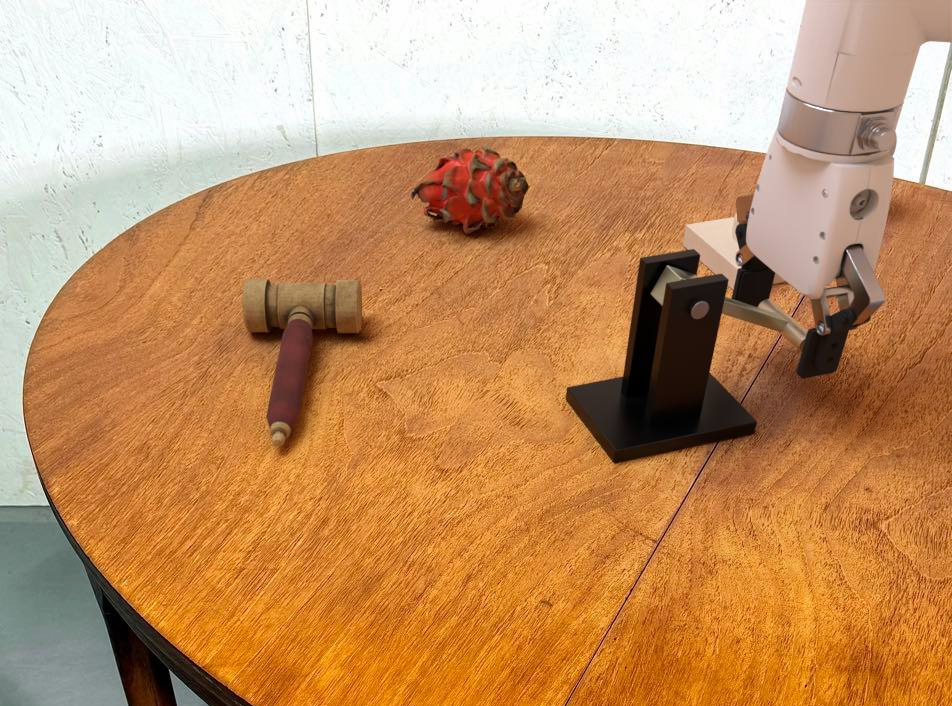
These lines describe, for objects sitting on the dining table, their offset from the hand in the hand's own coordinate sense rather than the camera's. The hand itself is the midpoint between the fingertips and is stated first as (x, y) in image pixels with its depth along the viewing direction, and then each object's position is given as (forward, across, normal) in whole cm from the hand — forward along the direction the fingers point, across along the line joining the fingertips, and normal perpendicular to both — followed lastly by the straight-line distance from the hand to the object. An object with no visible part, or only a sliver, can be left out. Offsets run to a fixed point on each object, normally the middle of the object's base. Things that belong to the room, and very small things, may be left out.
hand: (780, 341), depth 83 cm
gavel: (+5, +14, +36) cm, 39 cm away
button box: (+5, +21, -12) cm, 25 cm away
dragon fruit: (+5, +37, +12) cm, 39 cm away
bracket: (+5, 0, +10) cm, 11 cm away
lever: (-3, 0, +6) cm, 6 cm away
